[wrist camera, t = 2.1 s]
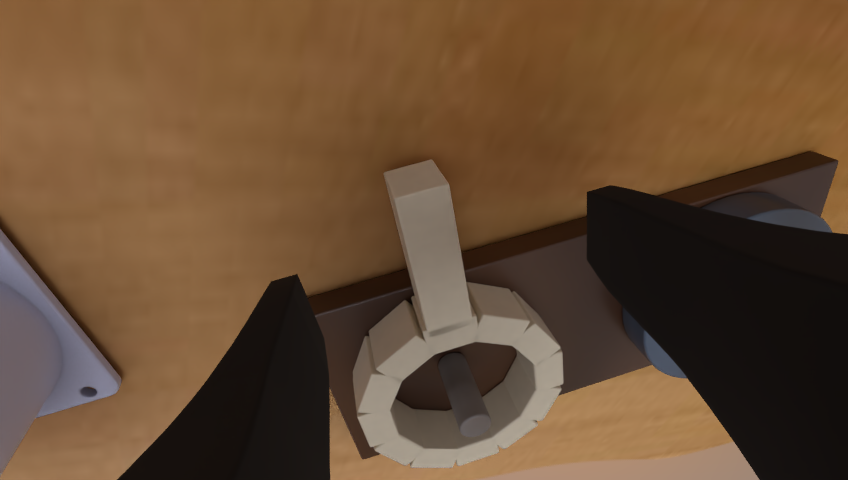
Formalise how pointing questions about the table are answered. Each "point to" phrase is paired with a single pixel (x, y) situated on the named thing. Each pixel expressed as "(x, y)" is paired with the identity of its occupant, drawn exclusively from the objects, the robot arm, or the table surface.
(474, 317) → the ring
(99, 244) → the table surface
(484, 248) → the rack
